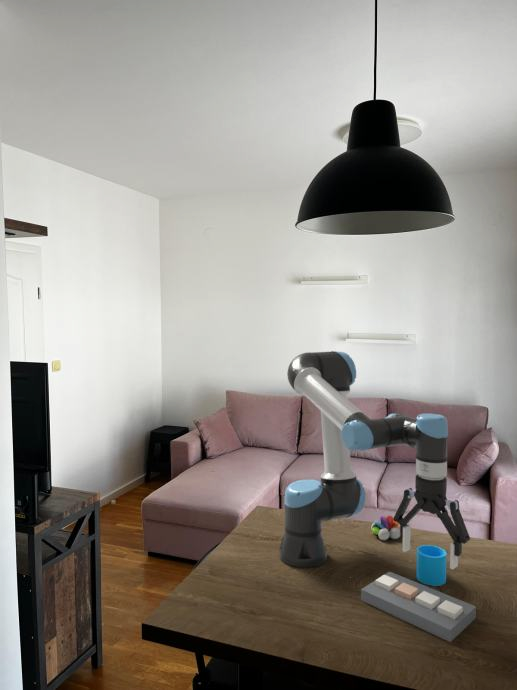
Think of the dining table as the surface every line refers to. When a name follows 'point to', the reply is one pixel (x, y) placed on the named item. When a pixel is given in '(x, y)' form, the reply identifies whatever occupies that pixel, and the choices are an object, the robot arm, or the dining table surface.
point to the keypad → (419, 608)
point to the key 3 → (427, 600)
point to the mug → (431, 565)
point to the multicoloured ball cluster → (386, 528)
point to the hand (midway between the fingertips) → (429, 558)
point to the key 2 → (406, 591)
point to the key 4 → (450, 610)
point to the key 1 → (386, 583)
